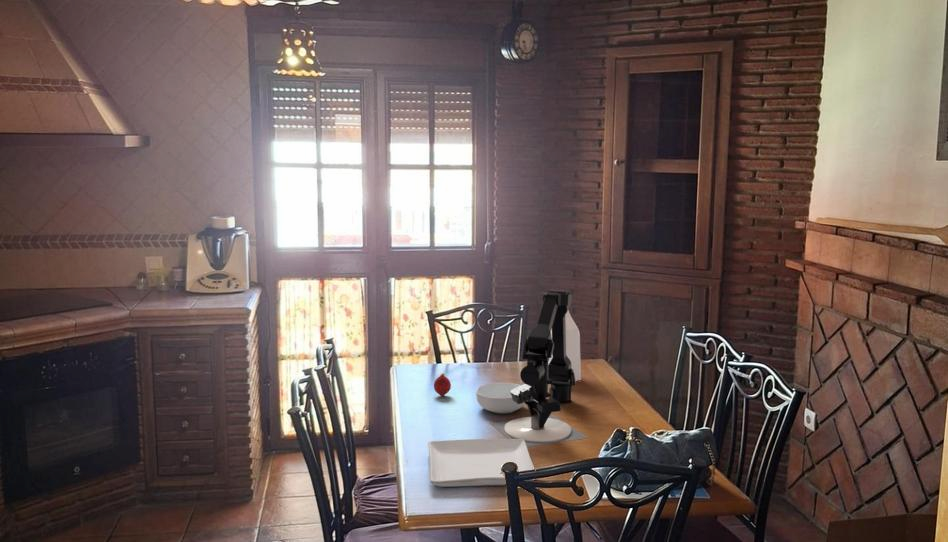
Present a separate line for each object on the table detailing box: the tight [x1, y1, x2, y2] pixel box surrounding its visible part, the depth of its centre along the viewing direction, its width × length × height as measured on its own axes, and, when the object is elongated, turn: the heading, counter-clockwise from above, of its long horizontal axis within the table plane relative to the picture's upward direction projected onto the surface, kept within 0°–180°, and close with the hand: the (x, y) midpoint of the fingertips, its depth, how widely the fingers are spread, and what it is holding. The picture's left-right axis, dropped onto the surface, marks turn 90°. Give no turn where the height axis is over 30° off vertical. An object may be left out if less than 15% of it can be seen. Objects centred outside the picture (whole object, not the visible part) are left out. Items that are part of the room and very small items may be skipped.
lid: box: [504, 415, 572, 442], centre depth 247 cm, size 20×20×4 cm
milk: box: [548, 309, 582, 381], centre depth 300 cm, size 12×12×26 cm
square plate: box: [427, 438, 536, 488], centre depth 218 cm, size 27×27×4 cm
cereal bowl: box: [475, 382, 526, 414], centre depth 266 cm, size 17×17×7 cm
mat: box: [489, 414, 588, 448], centre depth 247 cm, size 22×22×1 cm
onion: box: [433, 372, 452, 397], centre depth 280 cm, size 6×6×8 cm
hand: (537, 425), depth 247 cm, fingers closed on lid, 4 cm apart
